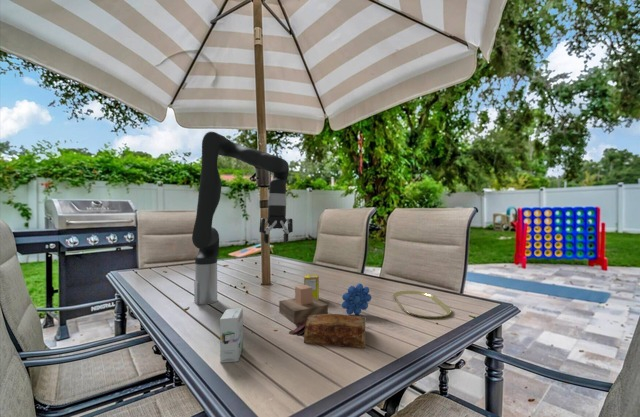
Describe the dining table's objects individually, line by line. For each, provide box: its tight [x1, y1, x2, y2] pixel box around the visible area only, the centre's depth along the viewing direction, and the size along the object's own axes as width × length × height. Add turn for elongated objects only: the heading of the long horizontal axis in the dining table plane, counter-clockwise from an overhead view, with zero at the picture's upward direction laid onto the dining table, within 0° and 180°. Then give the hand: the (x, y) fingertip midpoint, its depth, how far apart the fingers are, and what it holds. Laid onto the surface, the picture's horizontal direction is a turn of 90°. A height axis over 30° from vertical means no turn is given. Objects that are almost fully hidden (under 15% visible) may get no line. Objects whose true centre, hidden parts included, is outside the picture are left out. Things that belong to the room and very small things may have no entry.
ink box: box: [219, 307, 244, 364], centre depth 83 cm, size 8×5×12 cm, turn 6°
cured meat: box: [288, 313, 366, 349], centre depth 97 cm, size 18×25×7 cm
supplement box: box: [303, 274, 320, 300], centre depth 134 cm, size 6×6×11 cm
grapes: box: [341, 283, 372, 316], centre depth 115 cm, size 12×7×12 cm, turn 95°
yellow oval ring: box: [392, 290, 452, 320], centre depth 127 cm, size 19×35×2 cm, turn 178°
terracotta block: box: [294, 284, 313, 305], centre depth 116 cm, size 5×5×6 cm
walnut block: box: [278, 297, 329, 325], centre depth 115 cm, size 14×14×5 cm
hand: (276, 242), depth 126 cm, fingers open, 8 cm apart
